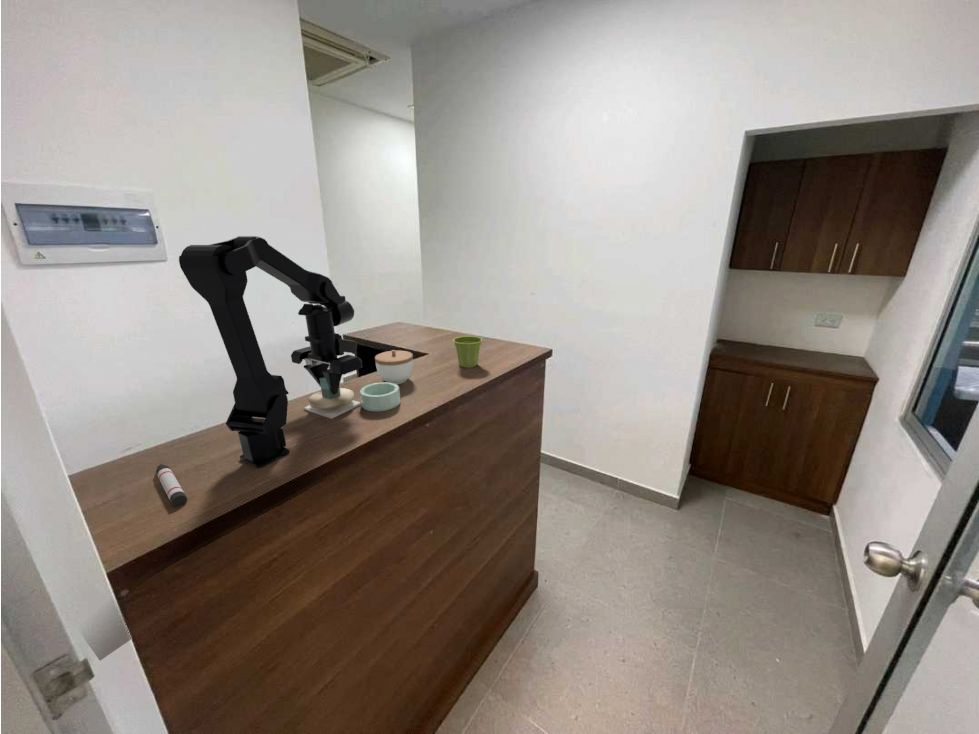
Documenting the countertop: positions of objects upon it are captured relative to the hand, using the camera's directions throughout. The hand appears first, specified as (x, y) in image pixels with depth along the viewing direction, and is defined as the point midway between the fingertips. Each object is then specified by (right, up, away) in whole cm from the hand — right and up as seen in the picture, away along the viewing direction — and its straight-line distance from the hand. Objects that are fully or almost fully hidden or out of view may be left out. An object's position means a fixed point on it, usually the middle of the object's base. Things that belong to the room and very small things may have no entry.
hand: (330, 392), depth 94 cm
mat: (0, -4, +1) cm, 4 cm away
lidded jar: (+12, +2, +19) cm, 22 cm away
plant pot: (+32, +7, +32) cm, 46 cm away
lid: (0, -2, +1) cm, 2 cm away
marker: (-16, -15, -28) cm, 35 cm away
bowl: (+12, -3, +3) cm, 12 cm away
